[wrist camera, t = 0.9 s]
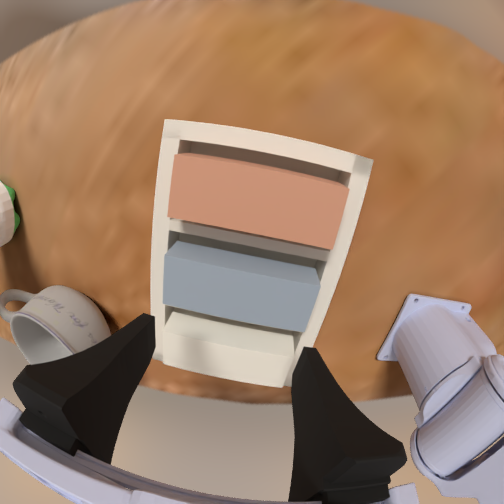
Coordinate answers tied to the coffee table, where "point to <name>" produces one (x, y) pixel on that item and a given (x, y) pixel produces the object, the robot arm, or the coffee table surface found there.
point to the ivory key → (227, 350)
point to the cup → (7, 214)
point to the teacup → (53, 323)
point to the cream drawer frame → (171, 230)
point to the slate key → (239, 286)
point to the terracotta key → (256, 199)
